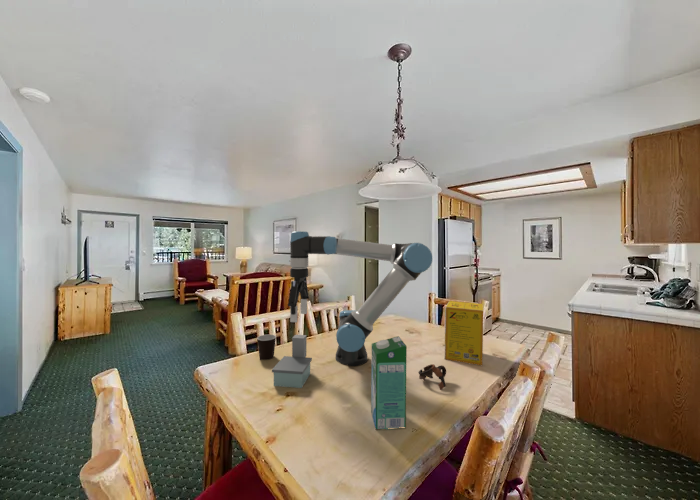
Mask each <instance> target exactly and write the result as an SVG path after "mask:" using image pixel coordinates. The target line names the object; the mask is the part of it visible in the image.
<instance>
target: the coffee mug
mask: <svg viewBox="0 0 700 500" xmlns="http://www.w3.org/2000/svg"><path fill="white" fill-rule="evenodd" d="M256 339H257V341H256V342H257V347H258V348H257V349H258V355H259V360H260V361H262V360H263V361H267V360H271V359H273V358H274V357H275V356H274V355H275V349H276V348H275V347H276V341H277V336H276V335H275V334H262V335H259V336H257V337H256Z"/></svg>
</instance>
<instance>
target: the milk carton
mask: <svg viewBox="0 0 700 500" xmlns="http://www.w3.org/2000/svg"><path fill="white" fill-rule="evenodd" d="M407 352H408V350H407V345H406V344H405V343H404V341H403V340H402V338H401V337H400V336H399V335H398V336H394V337H390V338H387V339H381V340H378V341H376V342H371V365H370V366H371V371H370V372H371V376H370V377H371V379H370V380H371V382H370V383H371V386H370V387H371V388H370V391H371V392H370V394H371V395H370V396H371V397H370V403H371V404H370V413H371V417H372V420H373V425H374V427H375V428H376V429H386V430H389V429H388V428H399V427H406V428H407V426H406V425H407V423H406V422H407V358H408V357H407V356H408V355H407ZM376 429H375V430H376Z"/></svg>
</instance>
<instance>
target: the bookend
mask: <svg viewBox="0 0 700 500" xmlns="http://www.w3.org/2000/svg"><path fill="white" fill-rule="evenodd" d="M291 340H292V341H291V342H292V343H291V349H292V350H291V352H292V353H291V355H292V356H290V355H289V356H287V355H284V356H283V357H282V358H281V359H280V360H279V361H277V363H276V364H275V366H274V367H272V369H271V373H274V372H275V373H290V374H303V373H304V371H305V370H306V368H307V367H308V365H309V364H310V365H311V362H312V360H313V358H312V357H307V334H295V335H293V336H292V338H291Z"/></svg>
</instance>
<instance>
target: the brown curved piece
mask: <svg viewBox="0 0 700 500" xmlns="http://www.w3.org/2000/svg"><path fill="white" fill-rule="evenodd" d="M433 374H434V375H435V376H436V377H437V378H438V379H439V380H440V382H439V383H438V384H437V386H438V388H439V390H443V389H444V388H445V387H446V381H445V377H446V375H447V368H446V367H445V366H444V365H437V366H436V365H435V364H429V365H426V366H424V367H423V368H421V369H420V370H418V375H419V377H418V379H419V380H423V381H424V382H425V381H426V378H429V379H434V376H433Z"/></svg>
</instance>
